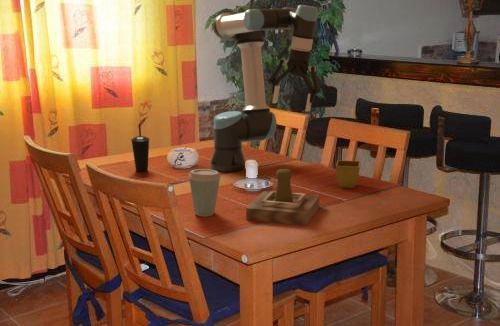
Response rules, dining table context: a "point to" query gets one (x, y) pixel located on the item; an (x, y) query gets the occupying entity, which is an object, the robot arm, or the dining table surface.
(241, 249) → the dining table surface
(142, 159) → the drinking cup
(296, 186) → the dining table surface
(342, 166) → the flower pot
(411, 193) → the dining table surface
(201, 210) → the disposable coffee cup
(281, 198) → the pepper mill
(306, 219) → the walnut stand
